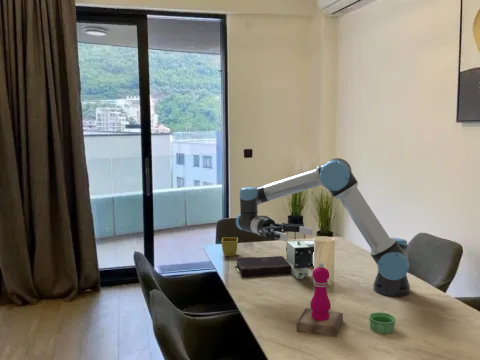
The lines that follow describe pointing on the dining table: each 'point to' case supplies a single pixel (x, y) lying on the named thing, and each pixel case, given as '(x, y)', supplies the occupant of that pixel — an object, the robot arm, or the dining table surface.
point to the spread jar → (311, 249)
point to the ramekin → (382, 322)
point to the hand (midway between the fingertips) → (299, 234)
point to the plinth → (320, 323)
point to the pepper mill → (320, 294)
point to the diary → (263, 266)
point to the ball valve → (299, 258)
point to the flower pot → (229, 246)
